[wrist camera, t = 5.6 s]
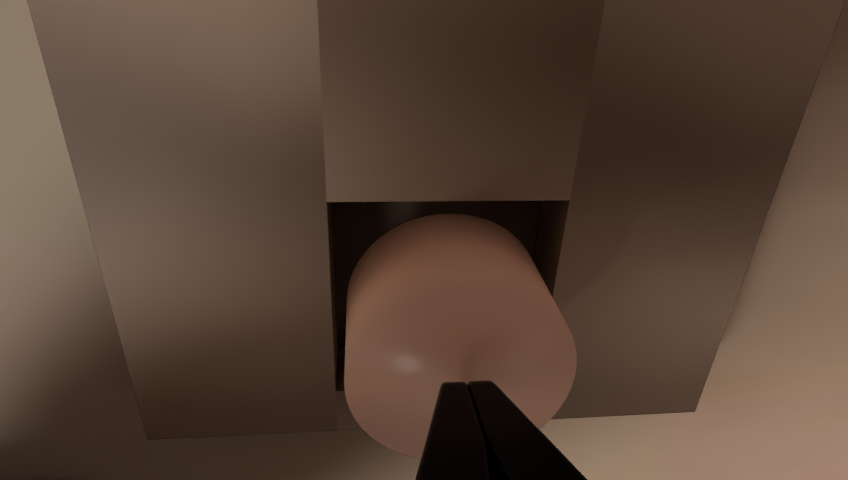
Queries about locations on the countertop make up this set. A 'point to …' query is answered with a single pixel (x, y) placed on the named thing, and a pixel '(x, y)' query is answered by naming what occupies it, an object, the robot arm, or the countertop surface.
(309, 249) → the button panel
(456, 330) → the terracotta button
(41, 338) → the countertop surface
